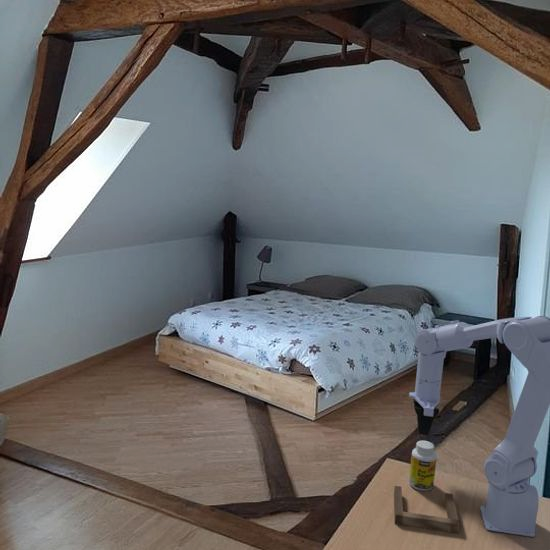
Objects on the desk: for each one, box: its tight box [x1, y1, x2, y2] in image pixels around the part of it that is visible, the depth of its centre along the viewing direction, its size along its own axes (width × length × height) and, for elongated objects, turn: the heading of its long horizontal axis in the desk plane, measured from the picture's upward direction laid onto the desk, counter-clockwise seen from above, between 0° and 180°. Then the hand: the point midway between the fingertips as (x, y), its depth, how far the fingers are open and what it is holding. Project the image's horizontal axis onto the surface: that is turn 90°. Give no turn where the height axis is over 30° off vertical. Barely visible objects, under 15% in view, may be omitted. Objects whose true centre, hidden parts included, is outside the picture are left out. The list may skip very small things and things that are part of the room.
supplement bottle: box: [408, 440, 438, 492], centre depth 131 cm, size 6×6×10 cm
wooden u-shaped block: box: [393, 485, 460, 534], centre depth 121 cm, size 12×11×2 cm
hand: (423, 431), depth 137 cm, fingers closed
